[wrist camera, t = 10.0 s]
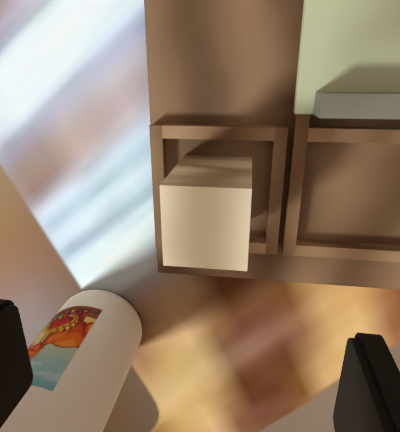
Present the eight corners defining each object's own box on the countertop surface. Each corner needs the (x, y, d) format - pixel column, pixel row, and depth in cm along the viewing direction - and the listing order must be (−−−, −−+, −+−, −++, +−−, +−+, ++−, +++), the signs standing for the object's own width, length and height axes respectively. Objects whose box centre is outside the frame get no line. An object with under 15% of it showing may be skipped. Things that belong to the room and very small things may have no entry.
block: (185, 217, 25) (163, 265, 19) (184, 155, 24) (159, 185, 17) (248, 220, 25) (247, 271, 18) (252, 156, 23) (252, 188, 17)
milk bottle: (147, 295, 31) (-6, 619, 13) (141, 361, 34) (9, 701, 16) (63, 278, 32) (-201, 564, 13) (64, 345, 35) (-149, 654, 16)
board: (164, 259, 29) (155, 279, 27) (151, -25, 22) (137, -39, 19) (394, 275, 27) (410, 297, 24) (467, -37, 20) (502, -55, 17)
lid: (293, 112, 21) (299, 117, 18) (311, -77, 17) (321, -103, 15) (459, 114, 20) (490, 120, 17) (511, -88, 16) (560, -118, 14)
